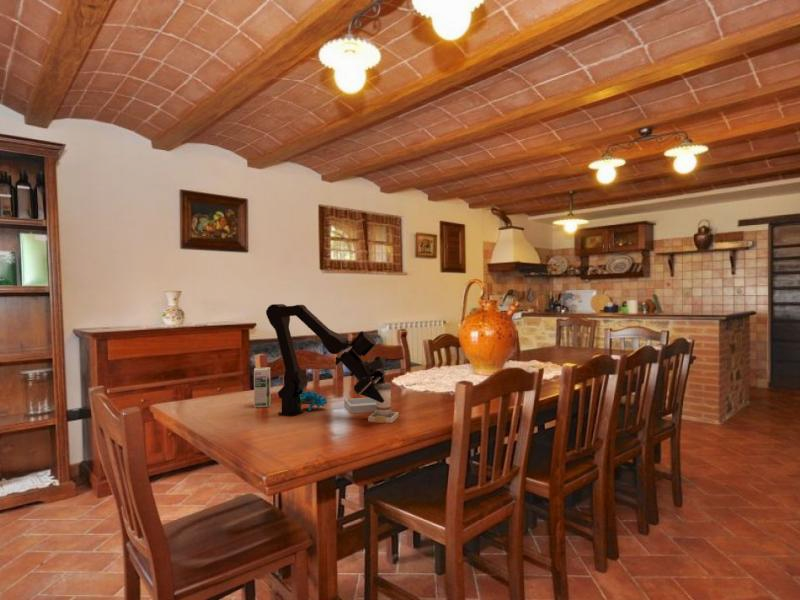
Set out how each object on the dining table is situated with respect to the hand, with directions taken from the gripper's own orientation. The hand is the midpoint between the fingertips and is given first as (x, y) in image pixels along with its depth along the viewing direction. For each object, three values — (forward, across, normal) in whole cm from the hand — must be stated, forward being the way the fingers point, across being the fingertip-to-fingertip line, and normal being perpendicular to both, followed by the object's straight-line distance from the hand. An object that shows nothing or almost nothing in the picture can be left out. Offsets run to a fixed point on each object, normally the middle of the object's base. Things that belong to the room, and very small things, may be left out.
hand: (387, 399), depth 158 cm
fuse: (+4, 0, +6) cm, 7 cm away
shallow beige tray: (+4, 0, +6) cm, 7 cm away
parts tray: (-4, +13, +14) cm, 20 cm away
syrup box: (-32, +8, +42) cm, 53 cm away
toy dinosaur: (-17, +7, +27) cm, 32 cm away
